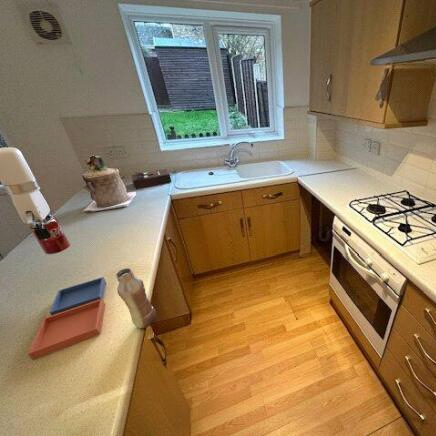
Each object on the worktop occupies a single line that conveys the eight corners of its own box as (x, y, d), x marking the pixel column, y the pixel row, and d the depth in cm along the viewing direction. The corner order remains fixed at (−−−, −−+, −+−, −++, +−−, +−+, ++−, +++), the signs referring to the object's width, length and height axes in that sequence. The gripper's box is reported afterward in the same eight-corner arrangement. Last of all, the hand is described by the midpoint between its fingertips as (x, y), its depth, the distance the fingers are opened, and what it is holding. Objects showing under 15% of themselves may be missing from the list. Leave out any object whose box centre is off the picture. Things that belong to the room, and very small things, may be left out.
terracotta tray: (33, 359, 65) (27, 353, 64) (47, 323, 75) (43, 318, 74) (100, 334, 71) (96, 328, 70) (105, 304, 82) (102, 298, 80)
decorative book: (172, 173, 186) (128, 181, 173) (175, 182, 190) (131, 190, 176) (169, 167, 201) (128, 174, 187) (171, 176, 205) (131, 183, 191)
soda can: (40, 253, 88) (23, 224, 82) (63, 242, 94) (48, 215, 88) (53, 257, 86) (36, 228, 80) (75, 246, 92) (60, 218, 86)
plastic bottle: (133, 334, 71) (106, 284, 61) (136, 317, 76) (112, 268, 67) (157, 326, 73) (135, 277, 63) (158, 310, 79) (138, 262, 69)
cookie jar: (137, 193, 171) (121, 148, 156) (129, 207, 151) (109, 156, 135) (98, 198, 165) (76, 152, 149) (83, 214, 144) (56, 161, 129)
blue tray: (53, 318, 77) (49, 312, 76) (62, 295, 86) (58, 290, 84) (102, 301, 83) (99, 296, 81) (106, 281, 91) (103, 276, 90)
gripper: (17, 181, 83) (42, 226, 91) (-6, 198, 70) (26, 248, 78) (45, 178, 86) (67, 221, 95) (28, 193, 73) (56, 241, 81)
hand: (49, 233), depth 86 cm, fingers closed on soda can, 7 cm apart
